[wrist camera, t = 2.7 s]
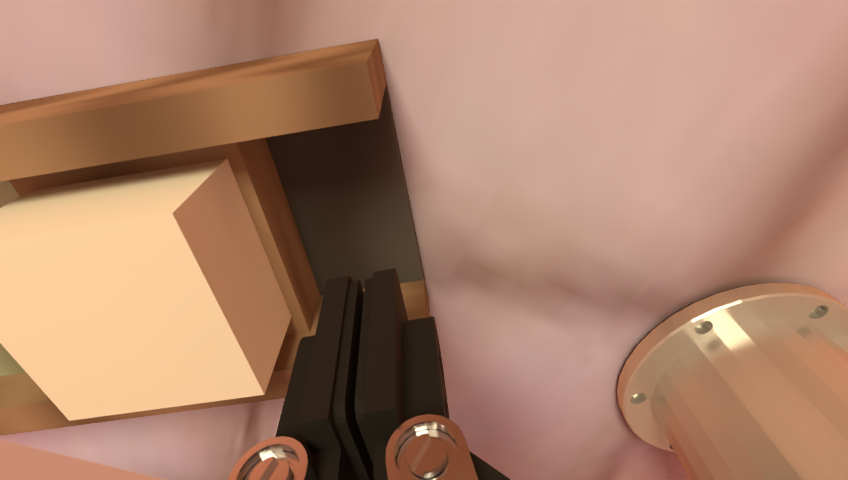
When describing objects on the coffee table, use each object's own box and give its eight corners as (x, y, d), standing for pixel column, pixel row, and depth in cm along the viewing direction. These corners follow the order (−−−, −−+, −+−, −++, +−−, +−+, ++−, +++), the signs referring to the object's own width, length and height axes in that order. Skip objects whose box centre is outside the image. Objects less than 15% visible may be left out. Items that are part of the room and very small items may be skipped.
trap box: (377, 38, 16) (366, 62, 12) (428, 299, 22) (433, 377, 18) (-323, 162, 17) (-565, 223, 13) (-93, 373, 23) (-205, 462, 19)
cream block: (227, 158, 15) (172, 213, 11) (291, 316, 18) (264, 394, 15) (31, 190, 15) (-80, 253, 12) (131, 339, 19) (69, 420, 15)
